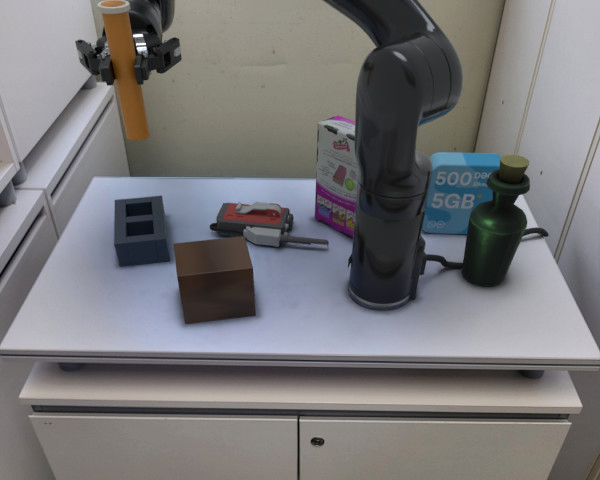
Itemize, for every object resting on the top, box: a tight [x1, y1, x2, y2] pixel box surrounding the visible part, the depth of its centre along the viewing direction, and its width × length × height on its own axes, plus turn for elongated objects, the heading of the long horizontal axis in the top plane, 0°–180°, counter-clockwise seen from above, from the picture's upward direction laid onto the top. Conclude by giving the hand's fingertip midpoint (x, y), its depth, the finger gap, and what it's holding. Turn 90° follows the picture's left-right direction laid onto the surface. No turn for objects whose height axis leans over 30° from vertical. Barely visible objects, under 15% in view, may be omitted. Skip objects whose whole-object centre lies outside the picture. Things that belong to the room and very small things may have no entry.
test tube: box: [96, 0, 151, 142], centre depth 73 cm, size 4×4×15 cm
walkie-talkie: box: [209, 201, 329, 248], centre depth 97 cm, size 9×4×20 cm
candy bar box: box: [314, 115, 359, 239], centre depth 95 cm, size 11×5×16 cm, turn 44°
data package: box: [422, 151, 502, 235], centre depth 96 cm, size 12×4×12 cm, turn 88°
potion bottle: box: [461, 154, 531, 287], centre depth 84 cm, size 8×8×18 cm
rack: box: [113, 195, 171, 267], centre depth 95 cm, size 8×14×4 cm, turn 12°
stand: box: [172, 236, 257, 325], centre depth 83 cm, size 10×8×8 cm
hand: (123, 76), depth 70 cm, fingers closed on test tube, 3 cm apart
